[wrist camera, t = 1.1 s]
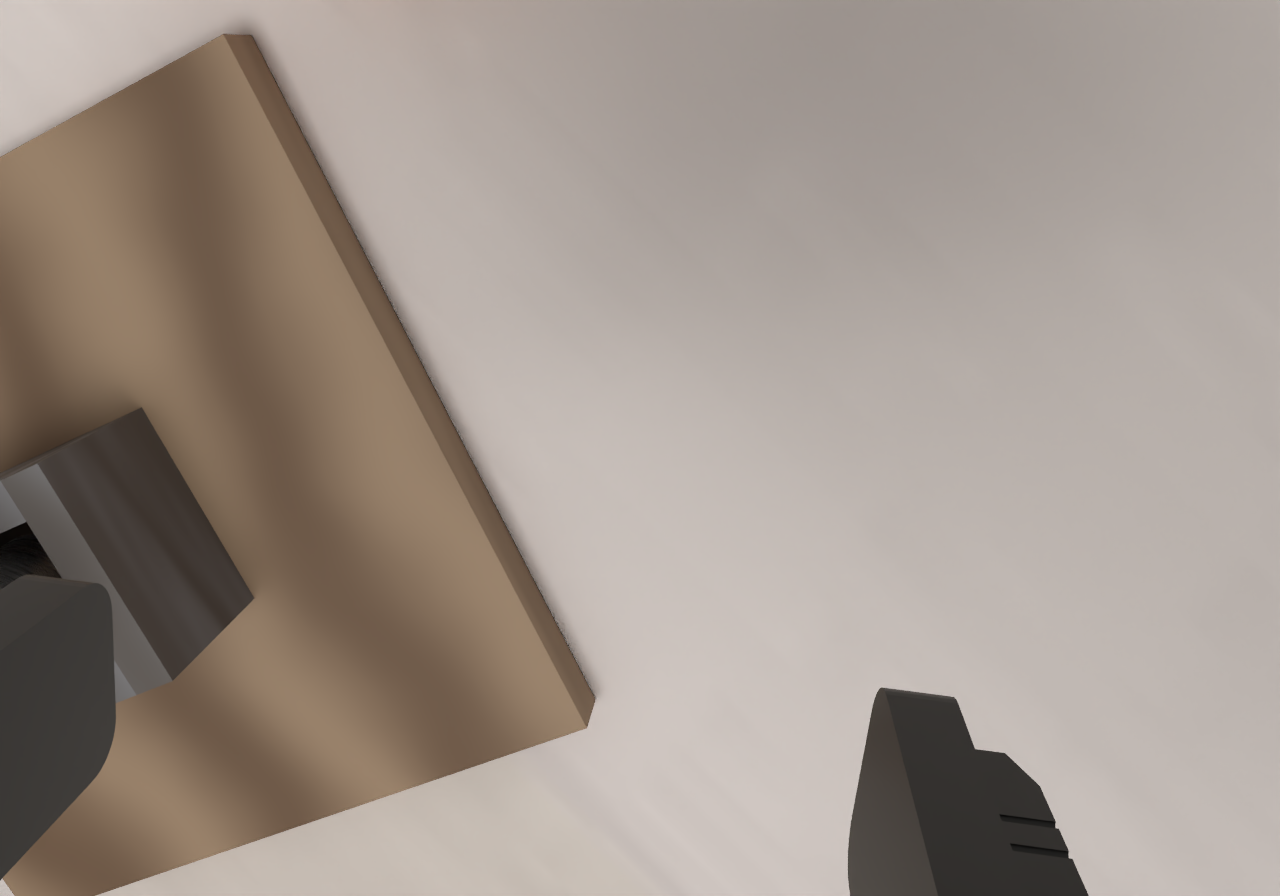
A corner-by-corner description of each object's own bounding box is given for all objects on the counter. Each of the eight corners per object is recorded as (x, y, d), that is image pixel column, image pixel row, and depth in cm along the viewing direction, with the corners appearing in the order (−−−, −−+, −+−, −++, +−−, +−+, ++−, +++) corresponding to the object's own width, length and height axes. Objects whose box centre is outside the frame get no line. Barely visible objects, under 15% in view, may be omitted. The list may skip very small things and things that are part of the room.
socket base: (251, 35, 29) (118, 29, 23) (595, 699, 33) (555, 830, 28) (-315, 344, 33) (-540, 403, 28) (58, 885, 38) (-69, 1029, 33)
